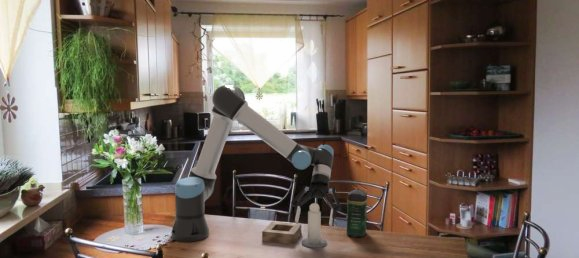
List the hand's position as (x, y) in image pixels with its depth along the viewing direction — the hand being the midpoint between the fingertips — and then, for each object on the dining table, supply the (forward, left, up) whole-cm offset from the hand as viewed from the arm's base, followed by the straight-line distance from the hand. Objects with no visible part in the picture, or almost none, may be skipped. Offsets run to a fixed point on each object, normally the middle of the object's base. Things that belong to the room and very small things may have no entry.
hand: (313, 223), depth 160 cm
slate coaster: (0, +2, -9) cm, 9 cm away
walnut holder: (-14, +5, -9) cm, 17 cm away
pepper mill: (0, +2, -8) cm, 8 cm away
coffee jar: (+15, +18, -9) cm, 25 cm away
